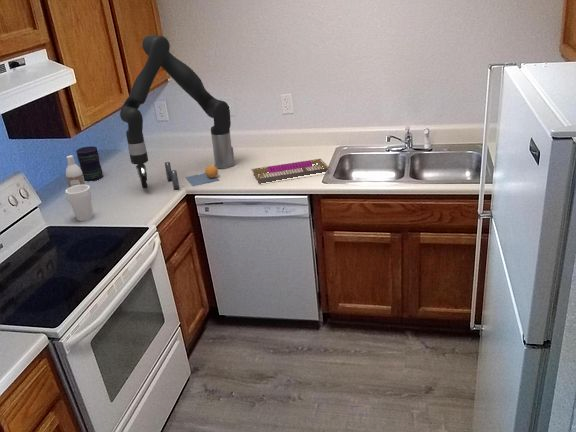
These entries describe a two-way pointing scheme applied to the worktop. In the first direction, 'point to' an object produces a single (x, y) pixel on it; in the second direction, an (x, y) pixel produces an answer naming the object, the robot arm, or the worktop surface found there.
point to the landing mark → (200, 179)
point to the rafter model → (288, 167)
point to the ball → (211, 171)
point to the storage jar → (89, 163)
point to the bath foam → (74, 173)
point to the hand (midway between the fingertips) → (144, 187)
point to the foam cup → (80, 201)
